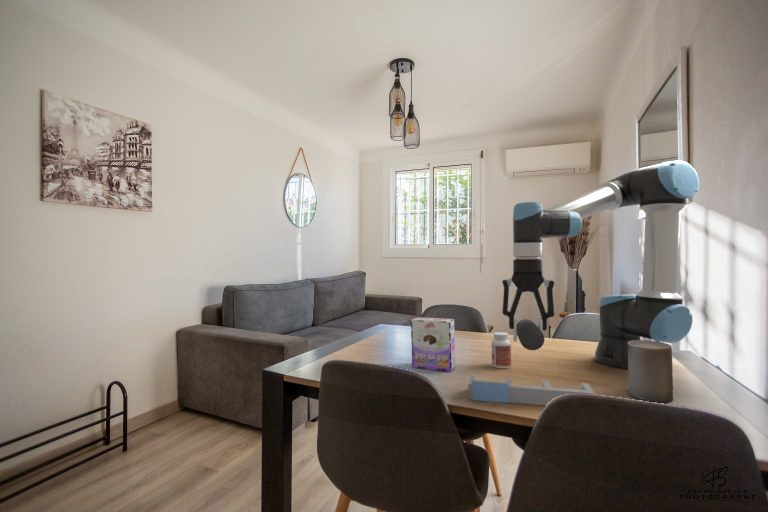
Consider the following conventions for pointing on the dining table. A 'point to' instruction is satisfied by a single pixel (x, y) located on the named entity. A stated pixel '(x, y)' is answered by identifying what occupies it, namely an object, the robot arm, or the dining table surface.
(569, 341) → the dining table surface
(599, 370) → the dining table surface
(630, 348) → the pillar candle
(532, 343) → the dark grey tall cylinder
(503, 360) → the pill bottle
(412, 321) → the candy box
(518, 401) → the duct comb
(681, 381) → the dining table surface
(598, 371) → the dining table surface
